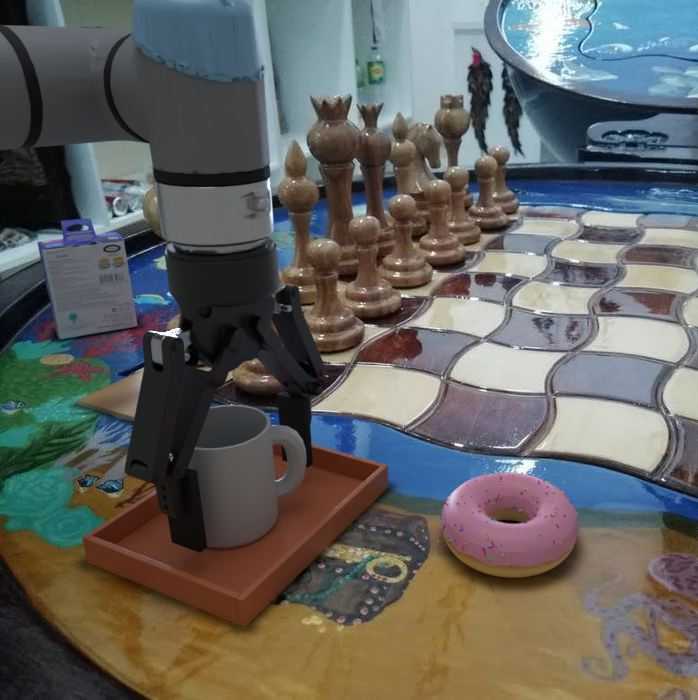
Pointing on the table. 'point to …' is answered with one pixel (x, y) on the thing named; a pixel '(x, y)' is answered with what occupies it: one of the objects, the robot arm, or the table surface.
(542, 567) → the doughnut
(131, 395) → the cork mat
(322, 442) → the table surface
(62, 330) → the ink cartridge box
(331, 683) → the table surface
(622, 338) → the table surface
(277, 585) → the tray
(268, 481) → the cup
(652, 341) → the table surface
